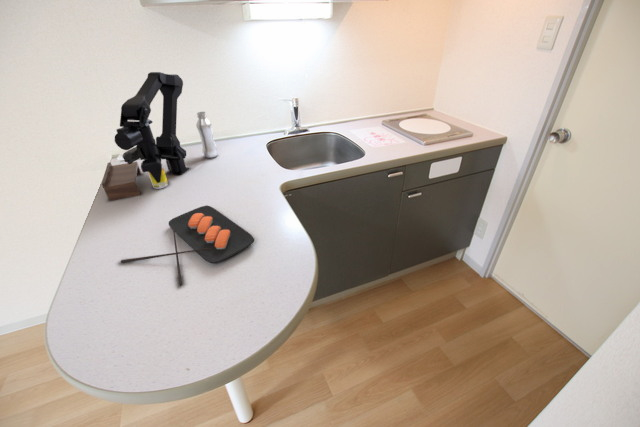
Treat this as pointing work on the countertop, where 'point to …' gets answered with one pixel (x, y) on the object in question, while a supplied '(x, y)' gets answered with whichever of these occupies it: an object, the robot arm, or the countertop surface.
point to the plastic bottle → (206, 135)
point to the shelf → (121, 180)
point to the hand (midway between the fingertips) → (158, 178)
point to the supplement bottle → (162, 183)
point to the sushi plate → (207, 236)
